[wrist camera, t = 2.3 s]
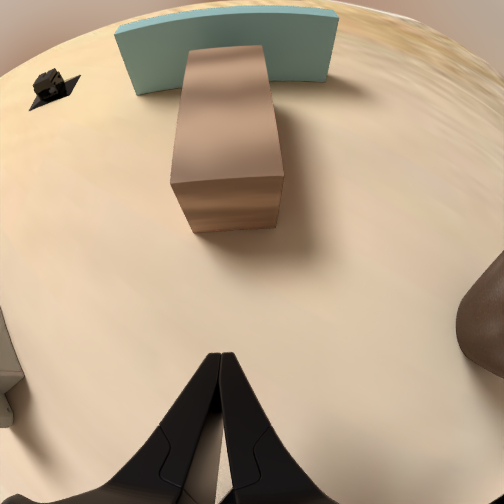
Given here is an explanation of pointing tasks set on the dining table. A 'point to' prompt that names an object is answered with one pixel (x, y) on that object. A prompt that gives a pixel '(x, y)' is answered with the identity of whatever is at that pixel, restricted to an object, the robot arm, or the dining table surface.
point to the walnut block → (227, 142)
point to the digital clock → (7, 374)
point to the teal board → (228, 42)
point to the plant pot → (484, 319)
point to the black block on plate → (52, 88)
